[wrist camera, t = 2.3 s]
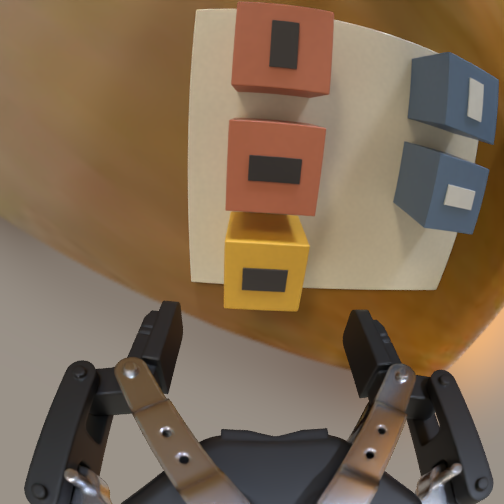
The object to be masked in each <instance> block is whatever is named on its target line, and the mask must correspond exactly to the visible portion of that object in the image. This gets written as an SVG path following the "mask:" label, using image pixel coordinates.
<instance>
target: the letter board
mask: <svg viewBox="0 0 504 504" xmlns="http://www.w3.org/2000/svg"><path fill="white" fill-rule="evenodd" d="M236 12H237V9H202V10H196V17H195V27H194V37H193V49H192V63H191V78H190V98H189V125H188V217H189V246H190V267H191V281H192V282H204V283H219V284H224V245H225V237H226V232H227V227H228V223H229V218H230V213H231V212H241V211H226V210H225V204H226V174H227V150H228V129H229V120H230V119H233V118H236V117H237V118H256V119H270V120H282V121H292V122H301V123H309V124H313V125H316V126H320V127H324V128H326V137H325V145H324V154H323V162H322V170H321V178H320V185H319V192H318V199H317V206H316V213H315V216H302V215H294V216H298V217H299V219H300V222H301V224H302V227H303V230H304V232H305V235H306V237H307V240H308V243H309V245H310V249H309V255H308V261H307V266H306V272H305V277H304V283H303V288H326V289H367V290H436V289H437V286H438V284H439V282H440V279H441V277H442V274H443V272H444V269H445V266H446V264H447V261H448V258H449V256H450V253H451V250H452V247H453V244H454V241H455V238H456V235H457V232H451V231H444V230H437V229H429V228H424V227H422V226H421V225H420V224H419V223H418V222H417V221H415V220H414V219H413V218H412V217H411V216H409V215H408V214H407V213H406V212H404V211H403V210H402V209H401V208H400V207H398V206H397V205H396V204H395V203H393V200H394V196H395V191H396V186H397V181H398V176H399V170H400V165H401V159H402V153H403V146H404V141H406V142H410V143H414V144H418V145H421V146H425V147H428V148H432V149H435V150H439V151H442V152H445V153H448V154H451V155H454V156H457V157H460V158H462V159H465V160H467V161H470V162H472V163H475V158H476V153H477V146H478V140H475V139H472V138H468V137H465V136H461V135H457V134H454V133H451V132H448V131H445V130H443V129H440V128H437V127H434V126H431V125H428V124H425V123H421V122H418V121H415V120H411V119H408V118H407V117H408V107H409V97H410V84H411V66H412V59H413V58H418V57H423V56H428V55H434V54H438V53H436V52H434V51H432V50H429V49H427V48H424V47H422V46H420V45H417V44H414V43H412V42H409V41H407V40H404V39H401V38H398V37H395V36H392V35H389V34H386V33H383V32H380V31H377V30H373V29H370V28H366V27H363V26H359V25H355V24H351V23H347V22H342V21H338V20H334V31H333V52H332V68H331V82H330V94H329V95H323V96H318V97H313V98H306V97H298V96H289V95H279V94H268V93H253V92H237V91H236V90H235V89H234V87H233V86H232V85H231V77H232V62H233V49H234V36H235V23H236ZM249 213H258V212H249ZM265 214H274V213H265ZM280 215H288V214H280Z"/></svg>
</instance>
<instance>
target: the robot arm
mask: <svg viewBox="0 0 504 504" xmlns="http://www.w3.org/2000/svg"><path fill="white" fill-rule="evenodd" d="M182 335H183V325H182V317H181V307H180V303H179V302H173V301H163V302H162V305H161V307H160V310H159V311H151V312H150V313H149V314H148V315H147V316H146V317H145V318H144V320H143V322H142V325H141V327H140V329H139V331H138V334H137V336H136V338H135V341H134V343H133V345H132V348H131V350H130V353H129V355H128V357H127V358H124V359H122V360H121V361H119V362H118V364H117V365H116V366H115V367H113V368H103V369H95V367H94V365H93V364H92V363H90V362H88V361H77V362H74V363H73V364H71V365H70V366H69V367H68V368H67V370H66V372H65V375H64V377H63V379H62V381H61V383H60V386H59V388H58V390H57V393H56V395H55V397H54V400H53V402H52V405H51V407H50V410H49V412H48V415H47V418H46V420H45V423H44V425H43V428H42V431H41V434H40V437H39V440H38V442H37V446H36V449H35V451H34V455H33V458H32V461H31V464H30V468H29V471H28V475H27V478H26V482H25V487H24V490H25V495H26V498H27V499H28V501H29V502H30V503H31V504H112V503H111V500H110V490H109V487H108V485H107V484H106V482H105V481H104V480H103V479H102V478H100V477H99V476H100V471H101V466H102V461H103V457H104V452H105V448H106V443H107V439H108V435H109V431H110V427H111V423H112V419H113V415H119V414H130V413H132V414H133V416H134V418H135V420H136V422H137V424H138V426H139V428H140V430H141V432H142V434H143V435H144V437H145V439H146V441H147V443H148V445H149V446H150V448H151V450H152V452H153V453H154V455H155V457H156V458H157V460H158V462H159V463H160V465H161V467H162V468H163V469H164V471H163V472H162V473H161V474H159V475H158V476H157V477H155V478H154V479H153V480H152V481H150V482H149V483H148V484H146V485H145V486H144V487H143V488H141V489H140V490H138V491H137V492H136V493H134V494H133V495H132V496H130V497H129V498H128V499H126V500H125V501H123V502H122V503H121V504H476V503H478V502H480V501H481V500H483V499H485V498H486V497H487V496H489V494H490V493H491V491H492V488H493V478H492V474H491V471H490V468H489V464H488V461H487V458H486V455H485V452H484V449H483V446H482V443H481V440H480V438H479V435H478V432H477V430H476V427H475V424H474V422H473V419H472V417H471V414H470V412H469V410H468V408H467V405H466V403H465V400H464V398H463V396H462V394H461V391H460V389H459V387H458V385H457V383H456V381H455V379H454V377H453V376H452V375H451V374H450V373H449V372H447V371H445V370H437V371H435V372H434V373H433V374H432V375H431V377H425V376H419V375H415V372H414V371H413V370H412V369H411V368H410V367H409V366H407V365H405V364H401V361H400V359H399V357H398V355H397V353H396V351H395V349H394V346H393V344H392V342H391V340H390V338H389V336H388V334H387V332H386V330H385V328H384V326H383V325H381V324H380V323H379V322H378V321H377V320H373V319H372V317H371V315H370V313H369V311H368V310H352V311H351V313H350V316H349V319H348V322H347V325H346V328H345V331H344V334H343V346H344V349H345V352H346V355H347V358H348V361H349V365H350V368H351V371H352V374H353V378H354V381H355V384H356V388H357V391H358V395H359V398H365V397H368V399H369V402H368V404H367V406H366V407H365V409H364V412H363V413H362V415H361V417H360V419H359V421H358V423H357V425H356V426H355V428H354V430H353V431H352V433H351V435H350V436H349V438H348V439H347V441H345V440H343V439H341V438H338V437H335V436H331V435H328V431H327V428H325V429H311V430H300V431H297V432H293V433H289V434H286V435H281V436H270V435H265V434H261V433H257V432H252V431H248V430H228V429H222V430H221V436H215V437H211V438H208V439H205V440H203V441H201V442H198V441H197V439H196V438H195V436H194V435H193V434H192V432H191V431H190V429H189V428H188V426H187V425H186V423H185V422H184V420H183V419H182V417H181V416H180V414H179V413H178V412H177V410H176V408H175V407H174V405H173V404H172V402H171V401H170V400H169V399H167V398H166V397H165V396H164V394H168V392H169V388H170V384H171V380H172V376H173V372H174V368H175V364H176V360H177V356H178V353H179V349H180V345H181V341H182ZM163 393H164V394H163ZM435 412H436V415H437V418H438V421H439V424H440V428H439V425H438V422H437V419H436V416H435ZM406 419H407V422H408V425H409V429H410V433H411V437H412V440H413V444H414V448H415V452H416V455H417V460H418V464H419V469H420V473H421V478H420V479H419V481H418V483H417V489H416V491H415V494H414V493H413V492H412V491H410V490H409V489H408V488H406V487H405V486H404V485H402V484H401V483H400V482H398V481H397V480H396V479H394V478H393V477H392V476H390V475H389V474H388V473H387V472H385V469H386V467H387V465H388V462H389V460H390V458H391V456H392V454H393V451H394V449H395V447H396V444H397V442H398V440H399V437H400V435H401V432H402V430H403V427H404V424H405V422H406Z"/></svg>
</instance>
